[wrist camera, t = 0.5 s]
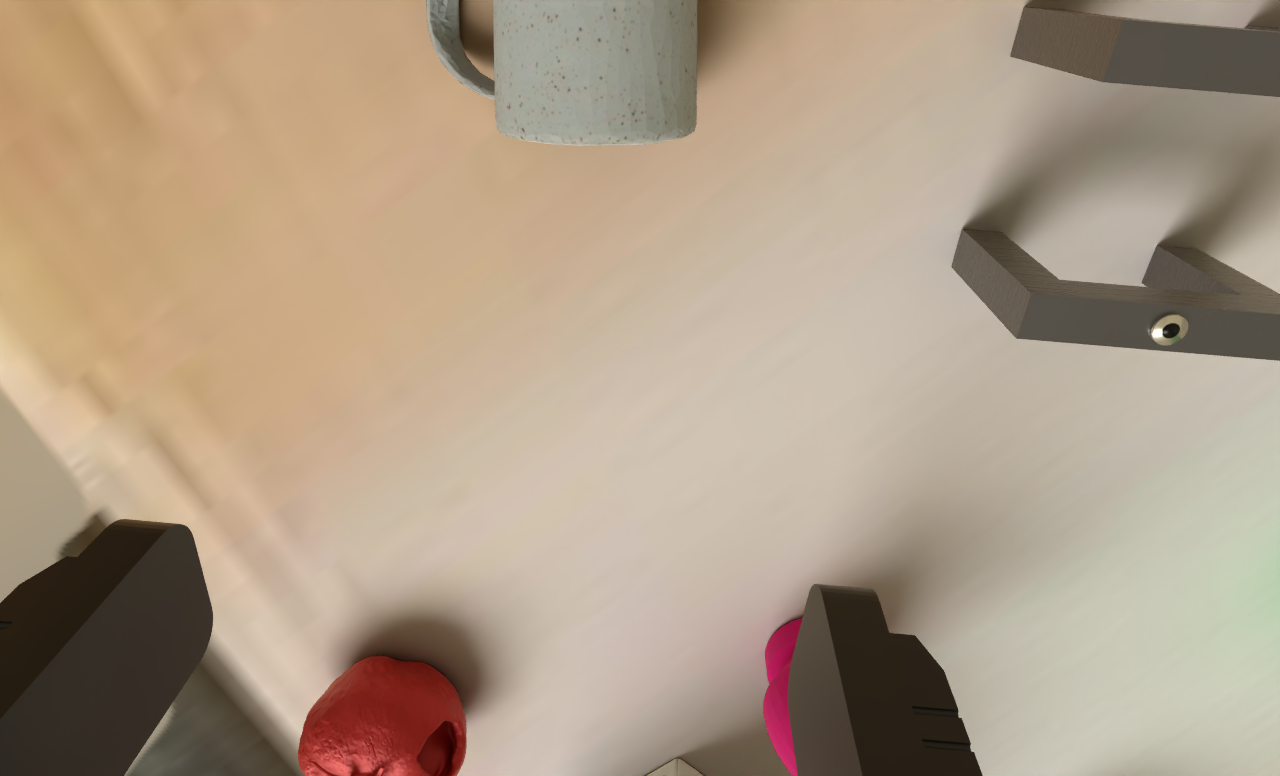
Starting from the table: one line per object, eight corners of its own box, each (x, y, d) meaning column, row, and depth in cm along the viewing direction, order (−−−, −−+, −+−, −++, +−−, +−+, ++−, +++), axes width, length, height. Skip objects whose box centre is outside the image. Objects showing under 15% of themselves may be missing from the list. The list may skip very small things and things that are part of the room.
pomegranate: (309, 710, 53) (242, 847, 44) (356, 616, 48) (290, 749, 40) (445, 760, 55) (404, 901, 46) (502, 674, 50) (468, 812, 42)
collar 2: (962, 229, 35) (1034, 296, 28) (1197, 248, 35) (1328, 320, 28) (951, 266, 36) (1018, 341, 29) (1180, 286, 36) (1304, 365, 29)
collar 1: (1024, 7, 31) (1123, 19, 24) (1292, 29, 31) (1468, 48, 24) (1010, 56, 32) (1102, 82, 25) (1270, 78, 32) (1435, 110, 25)
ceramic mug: (698, -109, 29) (700, -132, 23) (695, 117, 33) (696, 156, 27) (423, -102, 30) (345, -121, 23) (451, 119, 34) (391, 158, 27)
